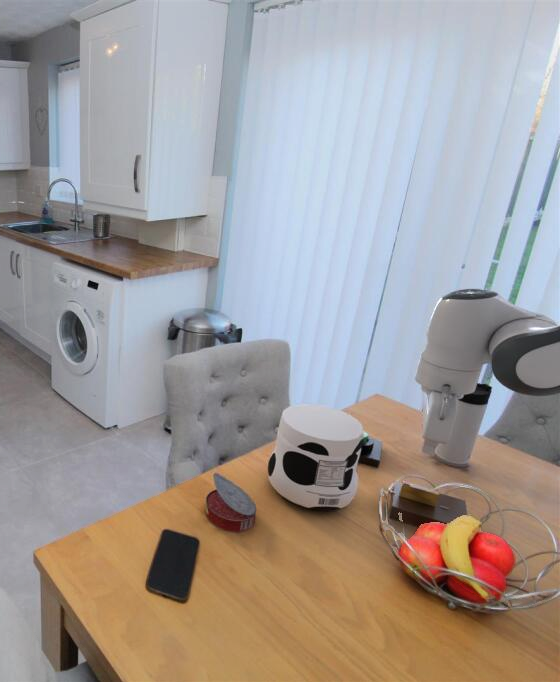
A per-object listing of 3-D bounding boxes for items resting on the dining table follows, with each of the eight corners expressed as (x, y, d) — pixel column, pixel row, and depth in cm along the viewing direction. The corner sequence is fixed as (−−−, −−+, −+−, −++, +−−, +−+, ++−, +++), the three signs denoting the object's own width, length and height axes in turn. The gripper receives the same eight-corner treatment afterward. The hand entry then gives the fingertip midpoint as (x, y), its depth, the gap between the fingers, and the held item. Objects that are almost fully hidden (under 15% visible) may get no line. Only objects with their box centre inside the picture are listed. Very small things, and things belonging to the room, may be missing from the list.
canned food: (217, 515, 107) (230, 472, 107) (259, 537, 99) (273, 491, 99) (187, 514, 100) (201, 469, 100) (230, 538, 92) (245, 489, 92)
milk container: (293, 459, 118) (304, 394, 111) (368, 497, 104) (387, 425, 98) (249, 486, 109) (259, 416, 103) (325, 531, 95) (342, 454, 89)
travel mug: (475, 467, 112) (501, 391, 105) (447, 468, 112) (471, 392, 105) (455, 452, 118) (478, 379, 111) (427, 453, 118) (449, 380, 111)
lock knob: (435, 503, 97) (439, 490, 96) (435, 507, 96) (439, 493, 95) (399, 492, 101) (403, 479, 100) (399, 496, 100) (402, 483, 99)
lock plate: (461, 512, 99) (465, 499, 98) (464, 542, 91) (469, 529, 90) (385, 489, 106) (388, 477, 105) (382, 516, 99) (385, 503, 98)
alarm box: (380, 448, 121) (384, 434, 119) (377, 468, 113) (381, 454, 112) (335, 436, 126) (338, 423, 125) (329, 455, 119) (332, 441, 117)
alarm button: (367, 438, 119) (369, 432, 118) (366, 444, 116) (367, 438, 116) (350, 433, 121) (352, 427, 120) (349, 440, 118) (350, 434, 118)
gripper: (473, 403, 78) (450, 473, 83) (464, 360, 94) (446, 422, 99) (425, 393, 82) (406, 461, 87) (424, 354, 97) (408, 413, 102)
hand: (427, 440), depth 93 cm, fingers open, 8 cm apart
